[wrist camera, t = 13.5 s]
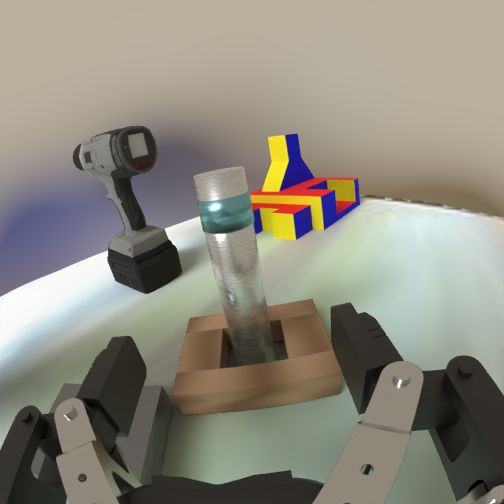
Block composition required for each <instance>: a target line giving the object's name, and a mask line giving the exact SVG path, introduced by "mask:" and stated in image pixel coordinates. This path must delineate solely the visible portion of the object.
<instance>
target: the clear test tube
mask: <svg viewBox="0 0 504 504" xmlns="http://www.w3.org/2000/svg"><path fill="white" fill-rule="evenodd" d="M194 182H195V187H196V192H197V197H198V199H197V204H198V209H199V213H200V218H201V223H202V228H203V231H204V232H205V234H206V238H207V243H208V247H209V252H210V256H211V260H212V265H213V269H214V273H215V277H216V281H217V286H218V290H219V294H220V298H221V302H222V306H223V310H224V314H225V318H226V321H227V325H228V329H229V333H230V337H231V341H232V344H233V348H234V352H235V355H236V359H237V363H238V366H246V365H254V364H260V363H267V362H273V361H276V359H275V352H274V346H273V340H272V334H271V327H270V321H269V315H268V309H267V303H266V296H265V290H264V284H263V278H262V272H261V266H260V260H259V254H258V248H257V242H256V236H255V230H254V224H253V222H254V214H253V208H252V202H251V196H250V190H249V189H248V188H247V182H246V176H245V170H244V167H232V168H225V169H220V170H214V171H210V172H206V173H202V174H199V175H196V176H194Z"/></svg>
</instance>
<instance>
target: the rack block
mask: <svg viewBox="0 0 504 504" xmlns="http://www.w3.org/2000/svg"><path fill="white" fill-rule="evenodd" d="M267 309H268V315H269V321H270V327H271V334H272V340H273V342H278V341H284V346H285V351H286V355H287V359H285V360H279V361H273V362H267V363H260V364H254V365H246V366H239V367H231V368H228V349H232V348H233V344H232V341H231V337H230V333H229V329H228V325H227V321H226V318H225V314H217V315H210V316H203V317H195V318H190V320H189V324H188V328H187V332H186V336H185V340H184V345H183V349H182V353H181V357H180V362H179V366H178V371H177V375H176V379H175V384H174V389H173V393H172V396H173V398H174V399H175V401H176V403H177V405H178V407H179V408H180V410H181V412H182V414H183V415H192V414H211V413H224V412H235V411H245V410H253V409H261V408H268V407H275V406H281V405H287V404H293V403H299V402H304V401H309V400H314V399H319V398H323V397H328V396H332V395H336V394H340V393H341V386H342V371H341V368H340V366H339V363H338V361H337V359H336V356H335V354H334V351H333V347H332V345H331V342H330V340H329V337H328V335H327V333H326V330H325V328H324V325H323V323H322V321H321V318H320V316H319V314H318V311H317V309H316V307H315V304H314V302H313V300H312V299H308V300H303V301H298V302H292V303H286V304H281V305H275V306H269V307H267Z"/></svg>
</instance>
